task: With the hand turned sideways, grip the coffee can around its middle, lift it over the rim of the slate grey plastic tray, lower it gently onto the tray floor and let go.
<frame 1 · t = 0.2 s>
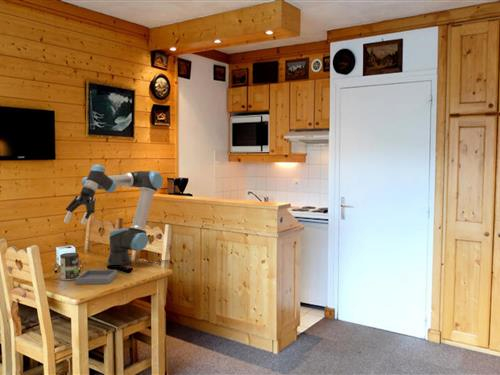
hand: (74, 223, 252), 35 cm above the table, tool tilted 35°, fingers open, 13 cm apart
tray: (97, 279, 265), on the table
coffee can: (70, 278, 269), on the table
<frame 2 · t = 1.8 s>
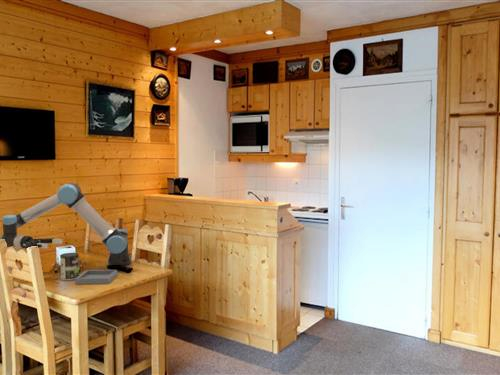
hand: (54, 243, 269), 20 cm above the table, tool horizontal, fingers open, 13 cm apart
nothing on the table moved.
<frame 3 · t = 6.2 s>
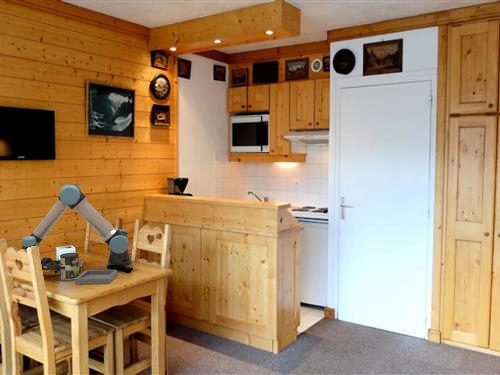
hand: (76, 265, 267), 8 cm above the table, tool horizontal, fingers closed on coffee can, 10 cm apart
coffee can: (70, 278, 269), on the table, touching gripper
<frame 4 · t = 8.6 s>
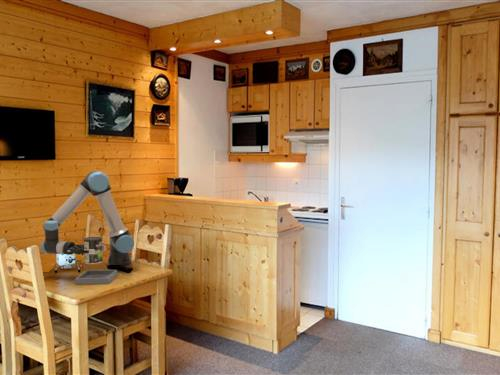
hand: (99, 249, 262), 18 cm above the table, tool horizontal, fingers closed on coffee can, 10 cm apart
coffee can: (93, 262, 264), point 10 cm above the table, touching gripper
when the fingers open (10 cm above the table, at t = 11.3 s): coffee can drops 1 cm, resting on tray.
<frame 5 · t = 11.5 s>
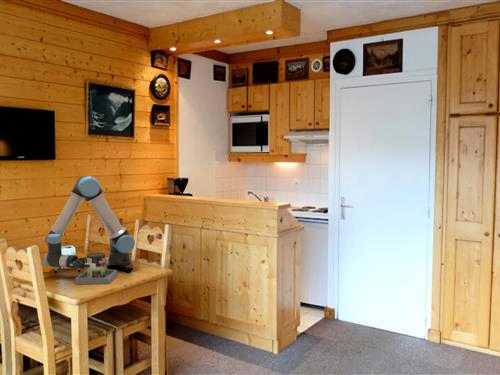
hand: (101, 263, 263), 10 cm above the table, tool horizontal, fingers open, 13 cm apart
coffee can: (96, 278, 264), point 1 cm above the table, touching tray
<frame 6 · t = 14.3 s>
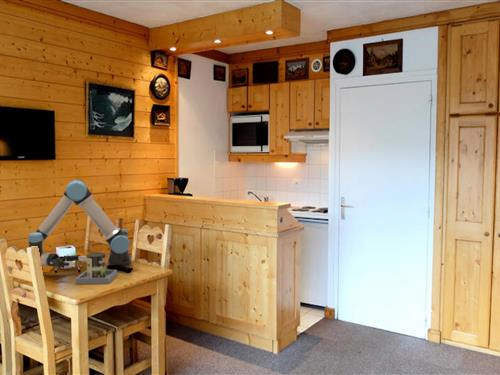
hand: (81, 261, 267), 10 cm above the table, tool horizontal, fingers open, 13 cm apart
nothing on the table moved.
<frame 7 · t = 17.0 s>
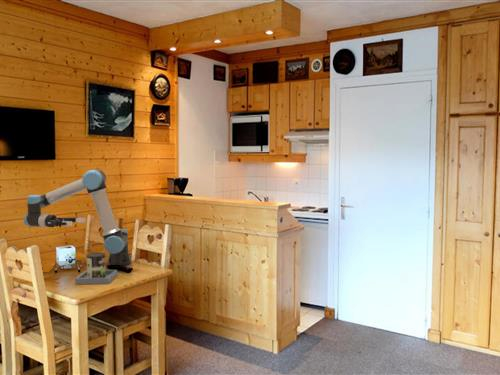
hand: (78, 222, 274), 32 cm above the table, tool horizontal, fingers open, 13 cm apart
nothing on the table moved.
at the end: coffee can inside the target area on the tray (0.5 cm from its centre), point 0.6 cm above the tray's base; coffee can tilted 0°; the gripper is holding nothing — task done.
